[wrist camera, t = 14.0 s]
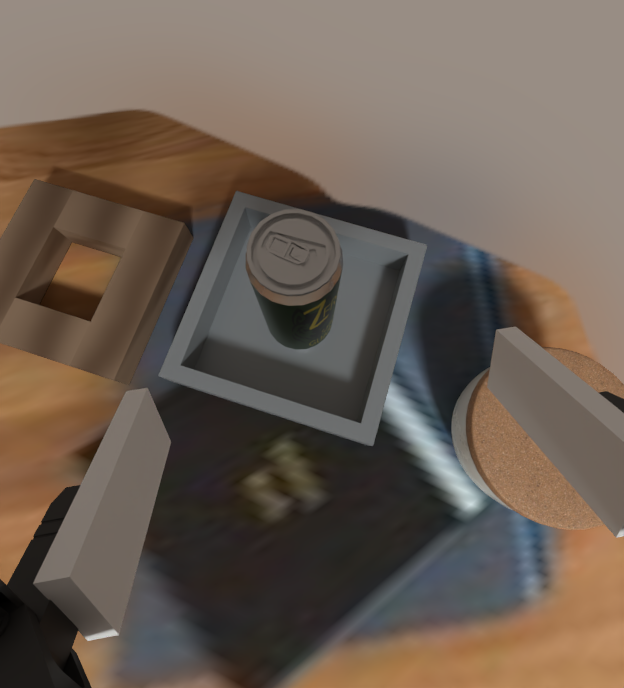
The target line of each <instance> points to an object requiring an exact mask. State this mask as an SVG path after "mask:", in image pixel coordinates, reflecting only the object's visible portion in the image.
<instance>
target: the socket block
mask: <svg viewBox="0 0 624 688" xmlns="http://www.w3.org/2000/svg"><path fill="white" fill-rule="evenodd" d="M192 240H193V237H192V235H191V233H190V232H189V230H188V228H187V227H186V225H185V223H183V222H179V221H176V220H173V219H169V218H166V217H162V216H159V215H156V214H152V213H149V212H145V211H142V210H139V209H135V208H132V207H128V206H125V205H122V204H118V203H115V202H111V201H108V200H105V199H101V198H98V197H94V196H91V195H88V194H84V193H81V192H77V191H74V190H70V189H67V188H64V187H60V186H57V185H53V184H50V183H47V182H43V181H40V180H36V179H34V181H33V183H32V184H31V186H30V188H29V190H28V191H27V193H26V195H25V197H24V198H23V200H22V202H21V203H20V205H19V207H18V209H17V210H16V212H15V214H14V216H13V217H12V219H11V221H10V223H9V224H8V226H7V228H6V230H5V231H4V233H3V235H2V237H1V238H0V343H2V344H5V345H8V346H11V347H14V348H17V349H20V350H23V351H26V352H29V353H32V354H35V355H38V356H41V357H44V358H47V359H50V360H53V361H56V362H60V363H63V364H66V365H69V366H72V367H75V368H78V369H81V370H84V371H87V372H90V373H93V374H96V375H99V376H102V377H105V378H108V379H111V380H114V381H118V382H121V383H124V384H128V385H129V384H130V382H131V380H132V377H133V375H134V373H135V371H136V368H137V366H138V364H139V361H140V359H141V357H142V355H143V352H144V350H145V348H146V345H147V343H148V341H149V339H150V336H151V334H152V332H153V329H154V327H155V325H156V323H157V320H158V318H159V316H160V313H161V311H162V309H163V307H164V304H165V302H166V300H167V297H168V295H169V293H170V290H171V288H172V286H173V284H174V281H175V279H176V277H177V274H178V272H179V270H180V268H181V265H182V263H183V261H184V258H185V256H186V254H187V252H188V249H189V247H190V245H191V242H192ZM72 242H73V243H77V244H80V245H83V246H87V247H90V248H93V249H96V250H100V251H103V252H106V253H110V254H113V255H116V256H120V257H122V258H121V260H120V262H119V264H118V266H117V268H116V270H115V272H114V274H113V276H112V278H111V280H110V282H109V285H108V287H107V289H106V291H105V293H104V295H103V297H102V299H101V301H100V303H99V305H98V307H97V309H96V312H95V314H94V316H93V318H92V320H91V322H90V321H87V320H84V319H81V318H78V317H75V316H72V315H68V314H65V313H62V312H59V311H56V310H53V309H50V308H47V307H43V306H40V305H39V304H40V302H41V300H42V298H43V296H44V294H45V292H46V290H47V289H48V287H49V285H50V283H51V281H52V279H53V277H54V275H55V273H56V271H57V269H58V267H59V266H60V264H61V262H62V260H63V258H64V256H65V254H66V252H67V250H68V248H69V246H70V244H71V243H72Z"/></svg>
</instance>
